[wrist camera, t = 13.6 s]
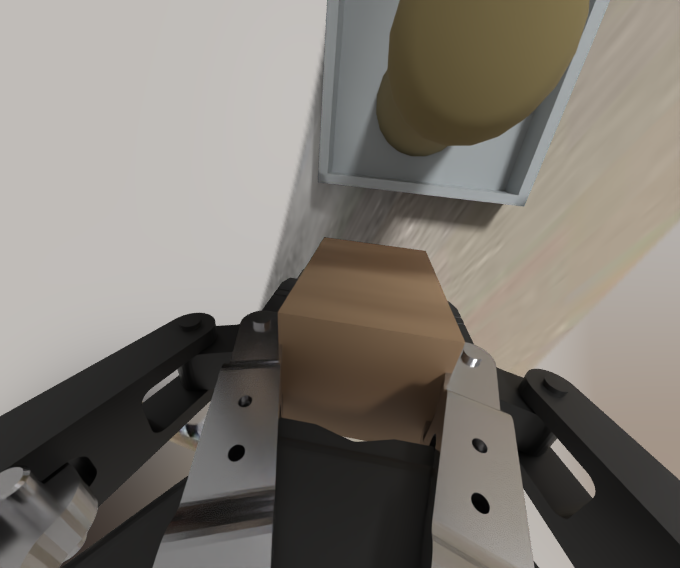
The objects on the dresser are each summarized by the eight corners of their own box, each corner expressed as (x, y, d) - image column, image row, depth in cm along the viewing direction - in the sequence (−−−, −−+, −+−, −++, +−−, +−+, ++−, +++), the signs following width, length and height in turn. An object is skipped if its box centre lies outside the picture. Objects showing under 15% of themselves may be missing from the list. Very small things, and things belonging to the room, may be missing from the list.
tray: (353, -273, 11) (346, -380, 9) (688, -278, 10) (776, -400, 8) (324, 178, 19) (317, 182, 17) (506, 199, 18) (524, 206, 16)
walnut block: (324, 237, 12) (277, 312, 6) (425, 250, 11) (465, 342, 6) (319, 318, 14) (280, 424, 8) (403, 331, 13) (418, 450, 8)
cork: (474, 148, 17) (608, 140, 7) (380, 164, 18) (383, 177, 8) (481, 24, 14) (712, -261, 4) (371, 52, 15) (358, -125, 6)
